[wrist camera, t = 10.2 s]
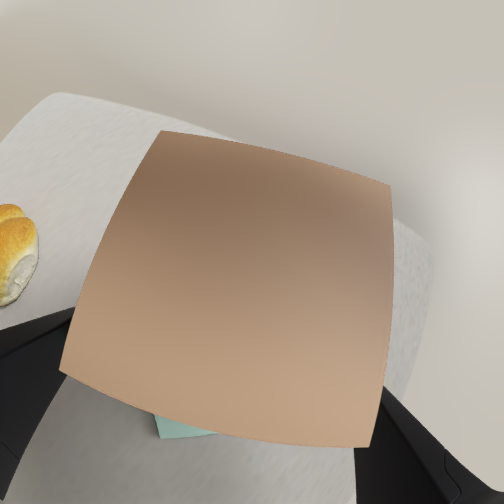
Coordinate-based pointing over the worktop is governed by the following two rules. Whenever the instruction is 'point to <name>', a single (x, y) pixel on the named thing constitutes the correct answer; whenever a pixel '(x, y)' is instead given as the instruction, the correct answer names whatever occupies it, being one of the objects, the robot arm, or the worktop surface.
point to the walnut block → (242, 295)
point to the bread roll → (16, 252)
